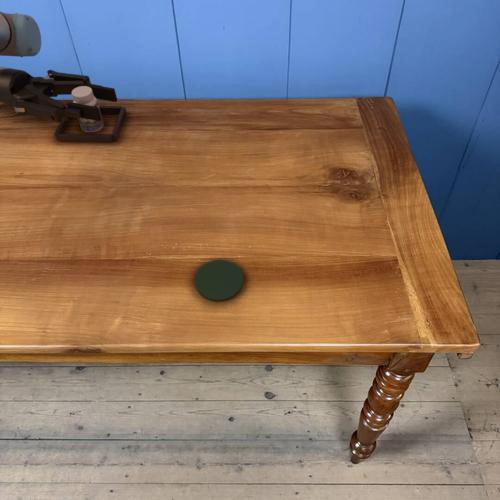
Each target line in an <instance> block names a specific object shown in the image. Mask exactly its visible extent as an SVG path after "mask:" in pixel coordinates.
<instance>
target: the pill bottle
mask: <svg viewBox="0 0 500 500" xmlns="http://www.w3.org/2000/svg"><path fill="white" fill-rule="evenodd" d="M71 97H72V100H73V101H72V103H78V104H83V105H89V106H94V107H98V108H99V106H100V105H99V103H98V99H96V98H95V97H94V95H93V92H92V89H91V88H90V87H87V86H80V87H77V88H75V89H73V90H72V95H71ZM99 112H100V109H99ZM100 115H101V118H102V119H101V121H96V120H91V119H85V118H77V120H78V122H79V126H80V129H81V130H82V131H83V132H85V133H87V134H93V133H97V132H99V131H101V130H102V129H103V127H104V125H105V124H104V120H103V116H102V114H101V112H100Z"/></svg>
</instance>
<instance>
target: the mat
mask: <svg viewBox="0 0 500 500" xmlns="http://www.w3.org/2000/svg"><path fill="white" fill-rule="evenodd" d="M194 285H195V286H194V287H195V289H196V291H197V293H199V295H200V296H201V297H202V298H204V299H206V300H208V301H211V302H219V303H220V302H225V301H226V302H227V301H229V300H231V299H233V298H235V297H236V296H237V295H239V293H240V292H241V290H242V289H243V286H244V274H243V271H242V270H241V268H240V267H239V266H238V265H237V264H235V263H234V262H232V261H229V260H224V259H215V260H211V261H208V262H207V263H204V264H203V265H202V266H201V267H200V268H198V270H197V272H196V274H195V276H194Z"/></svg>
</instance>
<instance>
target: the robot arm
mask: <svg viewBox="0 0 500 500" xmlns="http://www.w3.org/2000/svg"><path fill="white" fill-rule="evenodd" d="M41 49H42V34H41V29H40V27H39V25H38V23H37V21H36V20H35V18H34V17H32V16H31V15H29V14H23V13H22V14H20V13H18V12H14V13H6V12H2V11H0V57H2V56H3V57H17V58H19V57H20V58H24V57H25V58H26V57H35V56H37V55H38V54H40V51H41ZM46 73H47V75H45V76H44V77H43V76H33V75H31V74H30V73H29V72H28V71H26V70H23V69H18V68H12V67H6V66H1V65H0V105H5V106H9V107H13V108H14V110H15V112H16V114H17V116H29V117H33V118H37V119H41V120H45V121H48V122H53V123H57V124H59V123H60V122H61V120H62V118H63V117H64V119H65V121H69V120H70V121H71V119H70V117H71V118H74V119H78V118H85V119H91V120H96V121H101V119H103V117H102V118H101V116H102V114H101V115H100V112H99V108H98V107H94V106H89V105H83V104H78V103H73V101H72V102H71V101H67V103H66V104H65V103H63V102H62V101H59V100H57V99H55V98H57V97H58V96H67V95H69V96H70V95H71V96H72V90H73V89H75V88H77V87H80V86H87V87H90V88H91V89H92V92H93V95H94V97H95V98H96V99H97V100H101V101H106V102H112V103H117V102H118V97H117V93H116V89H115V88H113V87H108V86H103V85H100V84H94V83H92V81H91V79H90V76H89V75H85V74H84V75H83V74H75V73H67V72H58V71H55V70H53V69H48V70H47V71H46ZM70 121H69V122H70Z"/></svg>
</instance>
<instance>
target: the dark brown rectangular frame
mask: <svg viewBox="0 0 500 500" xmlns="http://www.w3.org/2000/svg"><path fill="white" fill-rule="evenodd" d="M98 106H99V109H100V112H101V115H118V117H117V120H116V122H115V125H114V127H113V130H112V133H72V132H71V133H68V132H67V133H66V130H67V127H68V126H69V123H70V121H71V119H72V117H70V120H69V121H65V119H64V117H63V118H61V122H59V123H58V126H57V128H56V130H55V132H54V137H55V139H56V141H58V142H60V143H114V142H118V140H119V137H120V134H121V132H122V129H123V127H124V123H125V120H126V117H127V114H128V113H127V109H126V106H122V105H98Z"/></svg>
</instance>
